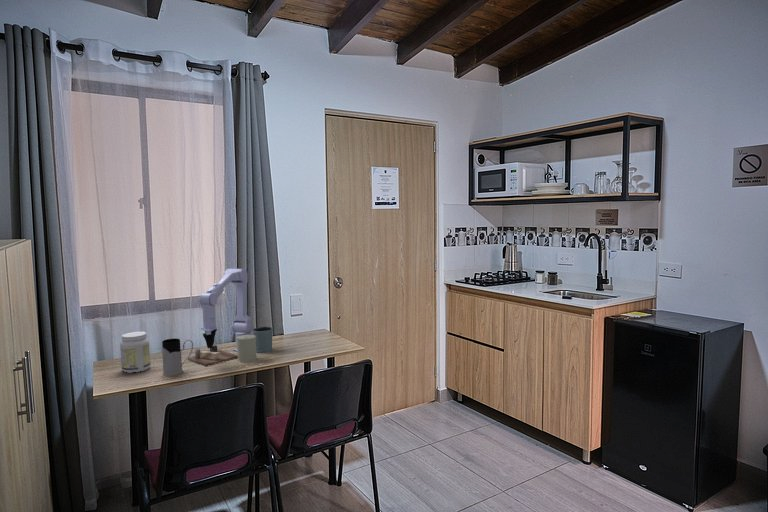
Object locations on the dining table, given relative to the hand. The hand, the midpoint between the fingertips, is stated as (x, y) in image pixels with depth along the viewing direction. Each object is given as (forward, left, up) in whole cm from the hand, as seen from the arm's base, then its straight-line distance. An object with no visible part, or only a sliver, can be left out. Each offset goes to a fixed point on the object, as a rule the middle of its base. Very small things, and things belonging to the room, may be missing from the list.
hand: (210, 346), depth 234 cm
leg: (-3, -7, -8) cm, 11 cm away
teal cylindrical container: (-30, 0, -10) cm, 31 cm away
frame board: (-6, -9, -9) cm, 15 cm away
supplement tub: (+25, -23, -10) cm, 36 cm away
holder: (+14, -4, -10) cm, 18 cm away
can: (-16, +6, -10) cm, 20 cm away
